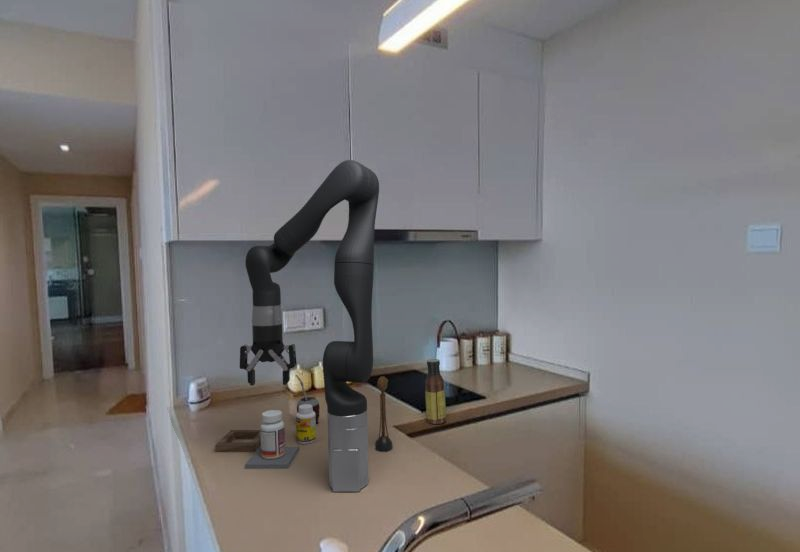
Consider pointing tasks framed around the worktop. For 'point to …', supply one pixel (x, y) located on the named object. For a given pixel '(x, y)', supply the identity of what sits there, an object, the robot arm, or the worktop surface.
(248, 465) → the mat
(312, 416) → the supplement bottle
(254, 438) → the socket block
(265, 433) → the pill bottle
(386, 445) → the wooden tabletop sculpture
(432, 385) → the sauce bottle
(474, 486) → the worktop surface
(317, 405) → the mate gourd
